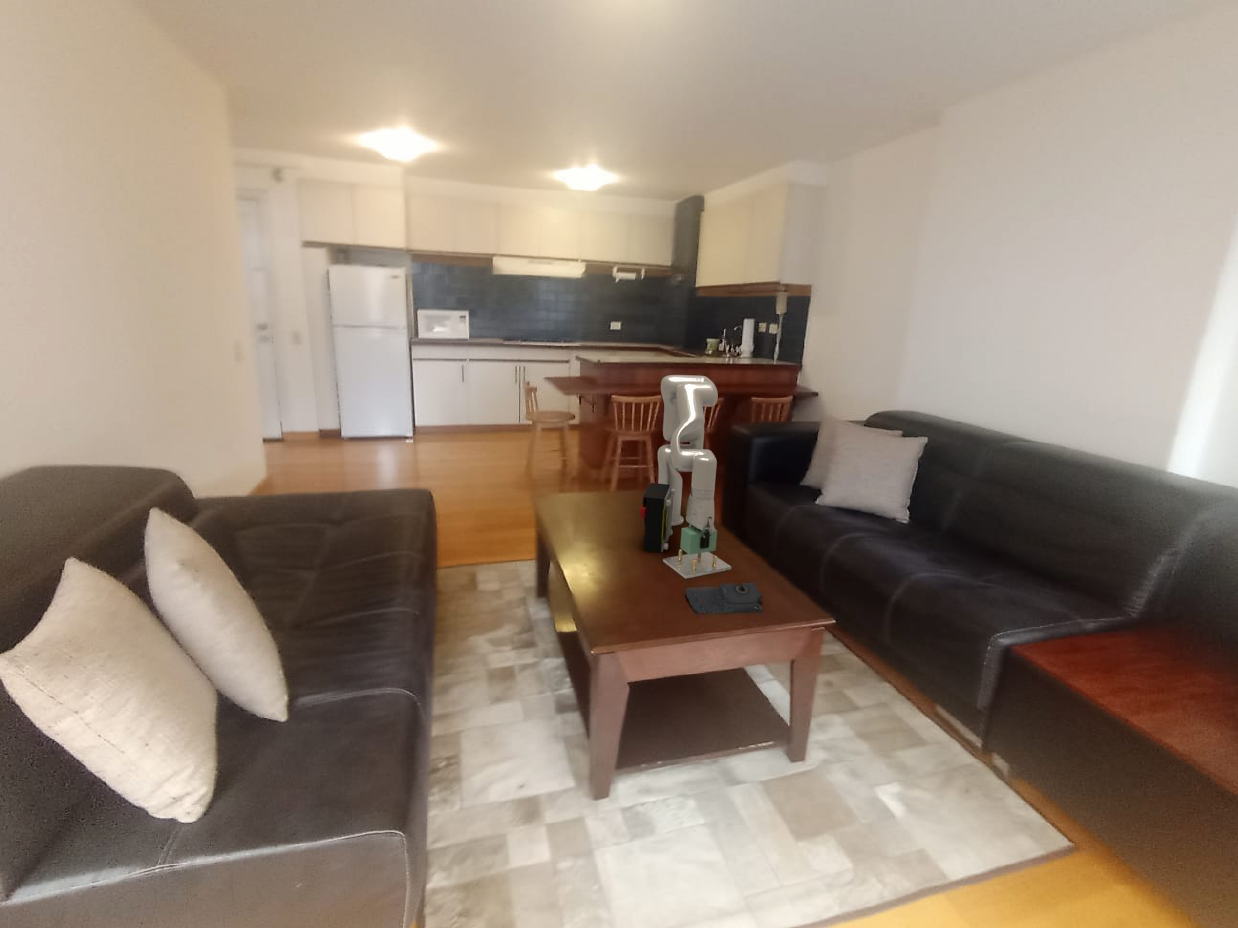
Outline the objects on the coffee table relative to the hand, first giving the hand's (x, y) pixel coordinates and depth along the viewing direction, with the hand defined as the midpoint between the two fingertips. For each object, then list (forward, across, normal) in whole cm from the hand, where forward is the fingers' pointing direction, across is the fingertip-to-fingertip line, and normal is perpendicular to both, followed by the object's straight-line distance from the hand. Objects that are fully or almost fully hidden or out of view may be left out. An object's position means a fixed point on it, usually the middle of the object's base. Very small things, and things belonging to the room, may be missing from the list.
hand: (698, 543), depth 192 cm
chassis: (+8, 0, 0) cm, 8 cm away
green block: (+2, 0, 0) cm, 2 cm away
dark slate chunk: (+9, +23, -6) cm, 26 cm away
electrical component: (+8, -22, -3) cm, 24 cm away
